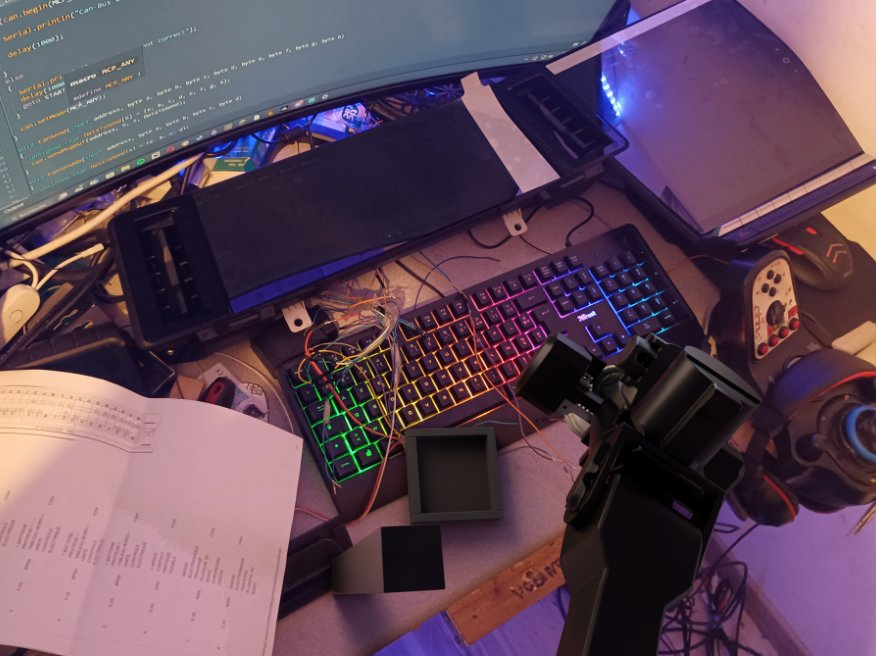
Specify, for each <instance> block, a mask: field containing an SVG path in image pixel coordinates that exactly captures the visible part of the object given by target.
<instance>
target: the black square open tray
mask: <svg viewBox="0 0 876 656" xmlns="http://www.w3.org/2000/svg"><path fill="white" fill-rule="evenodd" d="M404 447H405V463H406V479H407V480H406V481H407V494H408V495H407V496H408V511H409V525H425V524H459V523H460V524H461V523H480V522H481V523H483V522H499V521H501V520H503V519H505V514H504V513H505V512H504V504H503V503H504V502H503V495H502V494H503V493H502V486H501V477H500V467H499V460H498V451H497V441H496V433H495V427H494V426H473V427H472V426H471V427H466V426H465V427H435V428H433V427H432V428H431V427H429V428H408V429H407V430H406V431H404Z"/></svg>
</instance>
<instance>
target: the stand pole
mask: <svg viewBox="0 0 876 656" xmlns="http://www.w3.org/2000/svg"><path fill="white" fill-rule="evenodd" d="M442 538H443V537H442V526H441V523H439V524H417V525H410V524H407V525H405V524H403V525H386V526H385V525H383V526H380V527H378V528H377V529H376V530H374V531H373V532H371V533H370V534H368V535H367V536H365V537H364V538H362V539H361V540H360V541H358V542H356V543H355V544H353V545H352V546H350V547H349V548H347V549H346V550H345V551H343V552H341V553H340V554H339V555H337V556H336V557H334V558H332V559H331V594H332V595H358V594H359V595H360V594H394V593H395V594H396V593H410V592H426V591H427V592H428V591H442V590H443V591H445V590H446V577H445V564H444V563H445V562H444V555H443V554H444V552H443V551H444V550H443V539H442Z"/></svg>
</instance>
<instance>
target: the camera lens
mask: <svg viewBox="0 0 876 656" xmlns="http://www.w3.org/2000/svg"><path fill="white" fill-rule="evenodd" d="M621 374H622V371H621V370H620V369H619V368H617V367H616V366H615V364H612V365H607V366H606V367H605V368H604V370H603V371H602V372H601V373H600V375H599V376H598V377H597V379H596V380H595V381H594V382H593V384H592V388H591V389H590V391H592V392H593V393H595V394H596V395H598V396H599V397H601V398H602V399H604V400H606V399H608V398H610V391H611V389H612V388H613V387H614V386H615V384H616V383H617V382H618V381H619V377H620V376H621ZM579 406H580V404H579ZM584 408H585V407H583V409H584ZM587 411H589V410H588V409H587ZM591 414H592V412H591ZM563 416H564V420H565V422H566V424H567V427H568V428H569V429H570V430H571V432H572V433H573V434H574V435H575V436H577V437H578V438H579V439H581V437H582V435H583V434H584V433H585V432H586V430H587V429H588V428H589V427H590V424H589V423H587V422H586V421H584V420H583V419H581V418H580V417H578V416H577V415H575V414H574V413H571V414H568V415H563Z"/></svg>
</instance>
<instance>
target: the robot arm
mask: <svg viewBox="0 0 876 656" xmlns="http://www.w3.org/2000/svg"><path fill="white" fill-rule="evenodd" d="M613 365H615V366H616V367H617V368H619V369H620V370H621V371H622V374H621V376H620V377H619V381H618V382H617V383H616V384H615V386H614V387H613V388H612V389H611V391H610V398H608V399H606V400H604V399H602V398H601V397H599V396H598V395H596V394H595V393H593V392H592V391H590V389H591V388H592V384H593V382H594V381H595V380H596V379H597V377H598V376H599V375H600V373H601V372H602V371H603V370H604V368H605V367H606V366H608V363H607V362H606V361H604V360H602V359H601V358H599V357H598V356H597V355H596V354H594V353H592V352H590V351H589V350H587V349H586V348H584V347H582V346H581V345H579V344H577V343H576V342H574V341H573V340H572V339H570V338H568V337H567V336H566V335H564V334H563V333H561V332H560V331H557V332H550V333H549V334H548V335H547V336H546V338H545V339H544V340H543V341H542V342H541V344H540V346H539V347H538V348H537V350H536V351H535V353H534V354H533V355H532V356H531V358H530V359H529V361H528V362H527V364H526V365H525V366H524V367H523V369H522V370H521V371H520V373H519V374H518V376H517V377H516V379H515V382H514V390H515V393H516V395H517V396H519V398H521V399H523V400H524V401H526V402H527V403H529V404H531V406H533V407H535V408H536V409H538V410H539V411H540V412H542V413H544V414H545V415H546V416H548V417H550V416H552V415H554V414H555V413H556V412H558V413H559V414H560V415H563V416H564V415H568V414H571V413H574V414H575V415H577V416H578V417H580V418H581V419H583V420H584V421H586V422H587V423H589V424H590V427H589V428H588V429H587V430H586V432H585V433H584V434H583V435H582V437H581V438H580V443H581V444H583V445H584V446H586V447H587V449H586V451H584V452H583V454H582V455H581V456H580V457H579V459H578V466H579V467H581V469H580V471H579V473H578V474H577V476H576V479H575V480H574V481H573V484H572V485H571V487H570V490H569V491H568V493H567V495H566V496H565V505H564V508H565V510H564V512H563V517H562V521H563V523H565V524H566V526H565V529H564V533H563V538H562V543H561V548H560V551H559V556H558V563H559V567H560V570H561V573H562V575H563V579H564V581H565V584H566V587H567V590H568V593H569V596H570V597H569V603H568V608H567V613H566V615H565V616H566V617H565V620H564V624H563V627H562V631H561V634H560V639H559V643H558V646H557V650H556V653H555V656H659V650H660V643H661V636H662V631H663V626H664V622H665V618H666V614H667V611H669V610H670V609H671V608H673V607H674V606H676V605H677V604H679V603H680V602H681V601H682V600H684V599H686V597H688V596H689V595H691V593H692V592H693V589H694V586H695V580H696V579H697V577H698V575H699V573H700V570H701V568H702V566H703V563H704V560H705V557H706V554H707V551H708V548H709V545H710V542H711V540H712V536H713V533H714V530H715V527H716V525H717V521H718V518H719V515H720V512H721V510H722V506H723V504H724V501H725V498H726V497H727V496H728V495H729V494H730V493H731V491H732V490H733V489H734V488H735V487H736V486H737V485H738V484H739V483H740V482H741V481H742V479H743V478H744V475H745V473H746V464H745V459H744V457H743V455H742V452H741V451H740V450H738V449H737V448H735V447H733V446H732V445H730V444H729V443H727V442H728V441H729V440H730V439H731V438H732V436H733V435H734V434H735V433H736V432H737V431H738V430H739V428H741V426H743V424H744V423H745V422H746V421H747V420H748V419H749V418H750V417H751V416H752V415H753V413H754V412H755V411H757V410H758V408H759V407H760V406H761V403H762V402H763V399H762V397H761V396H760V395H759V393H758V392H757V391H756V390H755V389H754V387H752V386H751V385H750V384H749V383H748V382H747V381H746V380H745V379H744V378H742V377H741V376H740V375H739V374H738V373H736V372H735V371H733V370H732V369H731V368H730V367H729V366H727V365H725V364H724V363H723V362H721V361H720V360H718V359H717V358H715V357H713V356H712V355H711V354H709V353H707V352H705V351H703V350H702V349H700V348H697V347H695V346H691V345H685V347H684V348H683V347H681V346H680V345H678V344H675V343H670V342H667V341H665V340H664V339H663V338H660V337H659V336H657V334H655V333H653V332H650V333H648V335H646V337H645V338H643V337H641V336H639V335H633V336H632V337H631V338H629V339H628V341H627V343H626V344H625V345H624V347H623V349H622V350H621V351H620V352H619V354H618V356H616V359H615V361H614V364H613ZM579 404H580V406H579ZM583 407H585V408H584V409H583ZM587 409H588V410H589V411H587ZM591 412H592V414H591ZM674 503H675V504H677V505H679V506H680V507H682V508H683V509H684V510H686V511H687V512H689V513H690V514H692V515H691V517H690V518H688V517H687V516H685V515H684V514H682V513H681V512H680V511H678V510H677V509H675V508H674Z"/></svg>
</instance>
